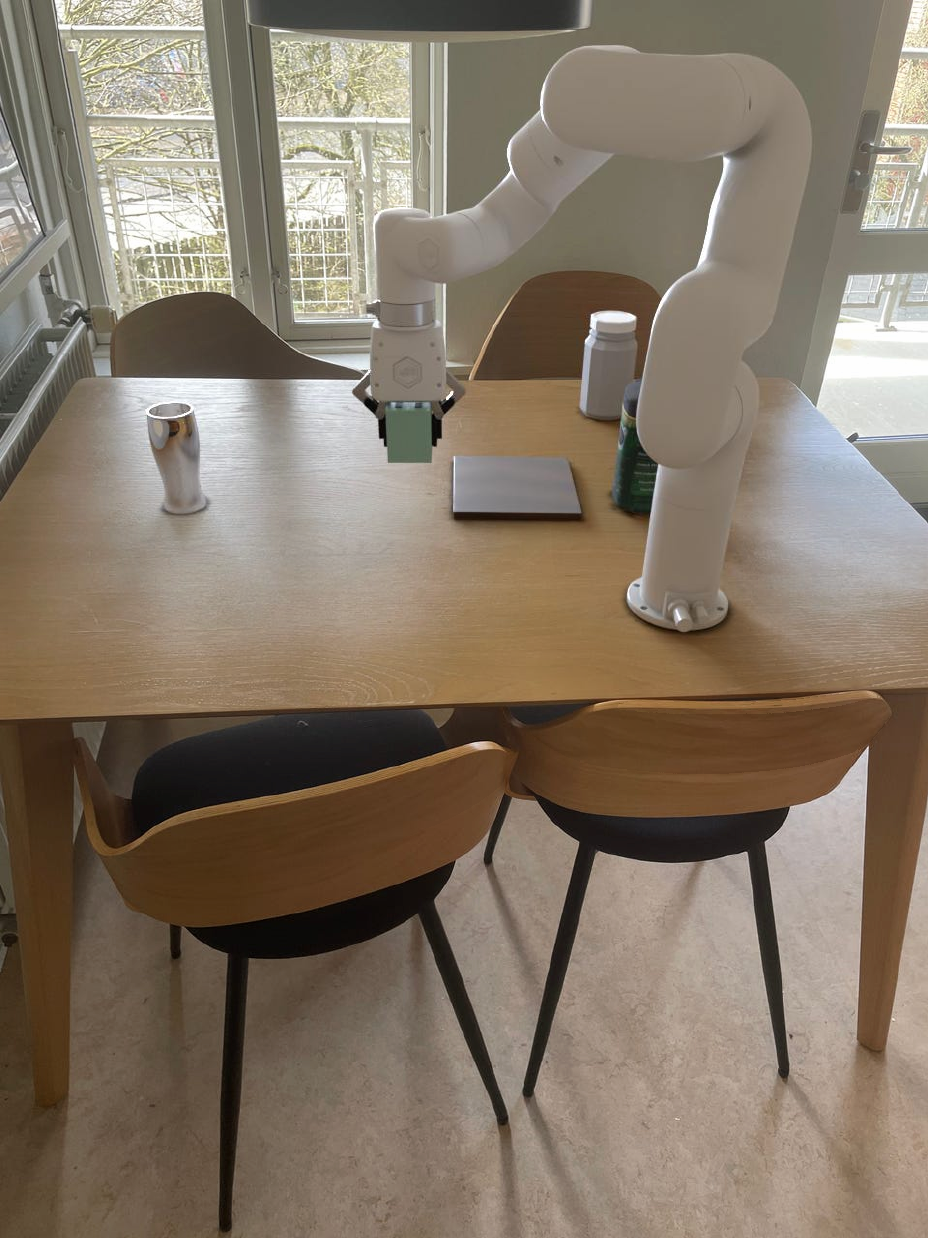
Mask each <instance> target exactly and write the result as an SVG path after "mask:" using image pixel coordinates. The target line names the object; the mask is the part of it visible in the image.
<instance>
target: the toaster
mask: <svg viewBox="0 0 928 1238" xmlns="http://www.w3.org/2000/svg"><path fill="white" fill-rule="evenodd" d="M385 414H386V435H387V447H386V452H387V453H386V455H387V463H388V464H431V463H432V462H433V461H432V460H433V448H434V447H433V446H432V423H431V420H432V414H433V411H432V408H431V403H429V402H389V403H387V405H386V411H385Z"/></svg>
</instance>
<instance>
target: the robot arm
mask: <svg viewBox="0 0 928 1238" xmlns="http://www.w3.org/2000/svg"><path fill="white" fill-rule="evenodd" d="M808 111H809V110H808V107H807V105H806V103H805V100H804V98H803V96H802V94H801V93H800V90H799V89H798V87H797V86H796V85H795V84H794V83H793V81H792V80H791V79H790V78H789V77H788V76H787V75H786V74H785V73H784V72H783V71H782V70H781V69H779V68H778V67H777V66H775V65H774V64H772V63H771V62H769V61H768V60H765V59H763V58H761V57H758V56H755V55H752V54H746V53H740V52H739V53H737V52H735V53H734V52H731V53H728V52H727V53H719V54H702V55H699V54H697V55H696V54H695V55H694V54H671V53H652V52H651V53H650V52H641V51H639V50H637V49H635V48H633V47H630V46H626V45H620V44H612V45H610V44H609V45H606V44H605V45H584V46H580V47H577V48H574V49H572V50H570V51H568V52H566V53H565V54H564V55H563V56H561V57H560V58H558V60H557V61H556V62H555V63H554V64H553V66H552V67H551V69H550V71H549V72H548V74H547V75H546V77H545V80H544V81H543V85H542V88H541V93H540V109H539V110H538V111H537V112H536V114H534V115H533V116H532V117H531V118H530V119H529V120H528V121H527V122H526V123H524V125H523V126H522V127H521V128H520V129H519V130H518V131H517V132H516V133H515V134H514V135H513V136H512V137H511V138H510V141H509V142H508V146H507V153H506V155H507V160H508V163H509V168H510V170H509V172H508V173H507V175H506V176H505V177H504V178H503V180H501V182H500V183H499V184H498V185H497V186H496V187H495V188H494V189H493V190H492V191H490V193H489V194H488V195H486V196H485V197H484V198H483V199H482V200H481V201H479V203H477V204H476V205H475V206H472V207H470V208H465V209H461V210H457V211H454V212H450V213H447V214H443V215H438V216H437V215H436V216H432V215H431V213H430V212H429V211H428V210H425V209H421V208H418V207H417V208H415V207H393V208H392V207H391V208H386V209H383V210H380V211H379V212H378V213H377V214H376V215H375V217H374V220H373V241H374V243H373V244H374V245H373V246H374V261H375V284H376V299H375V300H374V301H372V302H369V303H368V302H367V303H366V304H365V305H366V306H365V311H366V315H372V316H375V318H377V320H375V321H374V322H373V323H372V326H371V331H370V333H371V334H370V342H369V370H368V371H367V372H366V373H365V374H364V376H362V377H361V379H360V380H359V381H358V382H357V383H356V384H355V385H354V386H353V388H352V389H351V394H352V395H353V396H354V397H355V398H356V399H357V400H359V401H360V402H361V403H362V404H363V405H364V407H365V408H366V409H367V410H368V411H369V412H371V413H372V414H373V415H374V416H375V418H376V420H377V427H378V431H377V432H378V439H379V440H383V447H384V448H387V435H386V414H385V411H386V405H387V403H389V402H429V403H431V408H432V411H433V414H432V420H431V423H432V446H433V447H432V448H438V440H443V420H442V419H443V418H444V416H445V415H446V414H447V413H448V412H449V411H450V410H451V409H452V408H453V407H454V406H455V404H456V403H458V402H459V401H460V400H461V399H462V398H463V397H465V395H466V393H467V388H466V386H465V385H464V384H463V383H461V382H460V380H459V379H458V378H457V377H456V376H454V374H453V373H452V372H450V370H449V369H447V360H446V345H445V338H444V333H443V328H442V323H441V321H440V320H438V319H436V284H441V285H444V284H446V285H447V284H451V283H455V282H458V281H461V280H464V279H467V278H469V277H471V276H474V275H478V274H480V273H483V272H486V271H489V270H492V269H494V268H496V267H498V266H499V265H500V264H502V263H503V262H505V261H506V260H507V259H509V258H510V257H511V256H512V255H514V253H516V252H517V251H518V250H519V249H521V248H522V246H524V245H525V244H526V243H527V242H528V241H530V240H531V239H532V238H533V237H534V236H535V235H537V233H538V232H539V231H540V230H541V229H543V227H544V226H545V225H546V224H547V222H548V221H549V220H550V219H551V217H552V216H553V214H554V213H555V212H556V211H557V210H558V207H559V205H560V203H561V202H563V200H565V199H566V198H567V197H568V196H569V195H570V194H571V193H572V192H574V191H575V190H576V189H577V188H578V187H579V186H580V185H581V184H582V183H583V182H585V181H586V180H587V179H588V178H589V177H590V176H592V174H594V173H595V172H596V171H597V170H598V169H599V168H601V167H602V166H603V165H604V164H605V163H606V162H608V160H610V159H611V158H612V157H613V156H614V155H621V156H630V157H637V158H645V159H653V160H661V161H669V162H679V163H680V162H681V163H683V162H685V163H686V162H687V163H688V162H699V161H704V160H708V159H712V158H716V157H720V156H721V157H722V159H723V171H722V174H721V178H720V181H719V184H718V186H717V189H716V191H715V194H714V197H713V200H712V203H711V207H710V211H709V214H708V215H709V216H708V222H707V229H706V233H705V238H704V240H703V241H704V242H703V246H702V250H701V253H700V257H699V260H698V262H697V263H698V264H697V265H696V267H695V269H693V270H691V271H689V272H687V273H685V274H684V275H682V276H681V277H680V278H678V279H677V280H676V281H675V282H674V283H673V284H672V285H671V286H670V287H669V288H668V290H667V291H666V292H665V294H664V295H663V297H662V299H661V300H660V303H659V305H658V308H657V309H656V313H655V315H654V318H653V321H652V326H651V331H650V336H649V341H648V346H647V352H646V358H645V363H644V368H643V372H642V378H641V379H642V383H641V389H640V394H639V399H638V405H637V414H636V427H637V433H638V437H639V440H640V443H641V445H642V447H643V449H644V450H645V452H646V453H647V454H648V456H649V457H650V458H651V459H652V460H654V461H655V462H656V463H658V470H657V476H656V482H655V488H654V495H653V502H652V509H651V513H650V517H649V524H648V525H649V526H648V529H647V530H648V532H647V538H646V545H645V551H644V552H645V553H644V558H643V559H644V560H643V567H642V574H641V576H640V577H639V578H637V579H634V581H632V582H631V584H630V585H629V586H628V588H627V593H626V602H627V605H628V607H629V608H630V610H631V611H632V612H633V613H634V614H635V615H636V616H638V617H639V618H641V619H642V620H644V621H646V622H647V623H650V624H652V625H655V626H657V627H661V628H664V629H669V630H673V631H674V630H675V631H679V632H681V633H686V632H690V631H699V630H704V629H708V628H711V627H714V626H716V625H718V624H719V623H721V622H722V621H723V620H724V619H725V618H726V617H727V614H728V610H729V599H728V597H727V596H726V594H725V593H724V591H723V590H721V589H720V584H721V583H720V582H721V577H722V572H723V567H724V561H725V557H726V552H727V547H728V543H729V536H730V532H731V527H732V526H731V525H732V520H733V516H734V511H735V506H736V501H737V498H738V492H739V487H740V483H741V477H742V473H743V468H744V464H745V460H746V456H747V453H748V449H749V446H750V443H751V439H752V436H753V433H754V430H755V426H756V423H757V419H758V415H759V414H758V413H759V410H760V387H759V383H758V381H757V378H756V375H755V373H754V372H753V370H752V369H751V367H749V366H748V364H746V363H745V362H744V360H742V358H743V354H744V352H745V350H746V349H748V348H749V347H751V346H753V344H754V343H756V342H757V341H758V340H759V339H760V338H762V336H764V335H765V333H766V332H767V331H768V330H769V328H770V326H771V325H772V323H773V321H774V317H775V315H776V310H777V307H778V302H779V297H780V293H781V289H782V283H783V280H784V275H785V272H786V268H787V264H788V261H789V256H790V253H791V248H792V246H793V242H794V241H793V240H794V235H795V230H796V225H797V222H798V217H799V213H800V209H801V205H802V201H803V198H804V195H805V190H806V186H807V182H808V177H809V171H810V168H811V167H810V166H811V160H812V152H813V151H812V150H813V136H812V135H813V134H812V124H811V119H810V114H809V112H808ZM447 386H448V387H449V388H450V389H451V390H452V391H451V392H450V394H449V395H447V396H446V393H447ZM369 387H370V394H369V392H367V389H368V388H369Z"/></svg>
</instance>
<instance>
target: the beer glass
mask: <svg viewBox="0 0 928 1238" xmlns="http://www.w3.org/2000/svg"><path fill="white" fill-rule="evenodd" d="M145 414H146V415H145V416H146V425H147V433H148V435H147V436H148V441H149V445H150V449H151V450H150V451H151V453H152V456H153V459H154V462H155V465H156V467H157V470H158V472H159V475H160V478H161V480H162V485H163V490H164V491H163V493H164V494H163V496H164V497H163V507H164V509H165V510H166V511H167V512H168V513H170V514H176V515H187V514H188V515H189V514H192V513H193V514H194V513H196V512H200V511H201V510H202V509H204V508H205V507H206V504H207V500H206V497H205V494H204V492H203V488H202V485H201V478H200V476H201V473H200V470H201V469H200V468H201V440H200V439H201V438H200V433H199V427H198V423H197V418H196V414H195V410H194V406H193V405H192V404H189V403H187V402H181V401H168V402H162V403H157V404H153V405H152V406H149V408H147V409H146V410H145Z"/></svg>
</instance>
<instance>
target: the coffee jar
mask: <svg viewBox="0 0 928 1238" xmlns="http://www.w3.org/2000/svg"><path fill="white" fill-rule="evenodd" d="M641 383H642V378H636V379H635V380H633V382H632V383H630V384H629V385H628V386H627V387H626V388H625V392H624V398H623V404H622V415H621V418H620V426H619V433H618V442H617V451H616V458H615V467H614V473H613V481H612V490H611V491H612V492H611V494H612V499H613V501H614V503H615V505H616V507H618V509H620V510H622V511H627V512H629V513H634V514H640V515H646V514H651V509H652V502H653V495H654V488H655V482H656V476H657V470H658V463H656V462H655V461H654V460H652V459H651V458H650V457H649V456H648V454H647V453H646V452H645V450H644V449H643V447H642V445H641V443H640V440H639V437H638V433H637V427H636V414H637V405H638V399H639V394H640V389H641Z"/></svg>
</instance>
